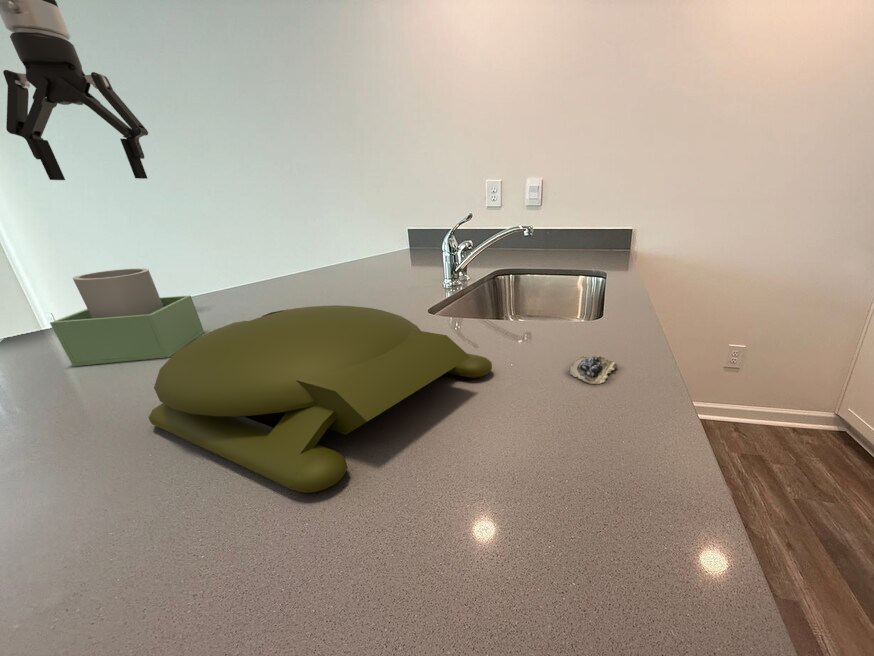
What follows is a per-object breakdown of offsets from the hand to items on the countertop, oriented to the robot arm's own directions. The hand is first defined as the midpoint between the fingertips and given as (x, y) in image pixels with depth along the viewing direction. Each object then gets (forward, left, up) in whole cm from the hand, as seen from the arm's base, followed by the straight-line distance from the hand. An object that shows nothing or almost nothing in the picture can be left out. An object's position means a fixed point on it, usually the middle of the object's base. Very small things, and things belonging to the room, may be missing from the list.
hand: (100, 179), depth 77 cm
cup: (+9, -23, -26) cm, 36 cm away
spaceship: (+43, -50, -27) cm, 71 cm away
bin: (+9, -23, -27) cm, 36 cm away
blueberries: (+79, -54, -27) cm, 99 cm away
